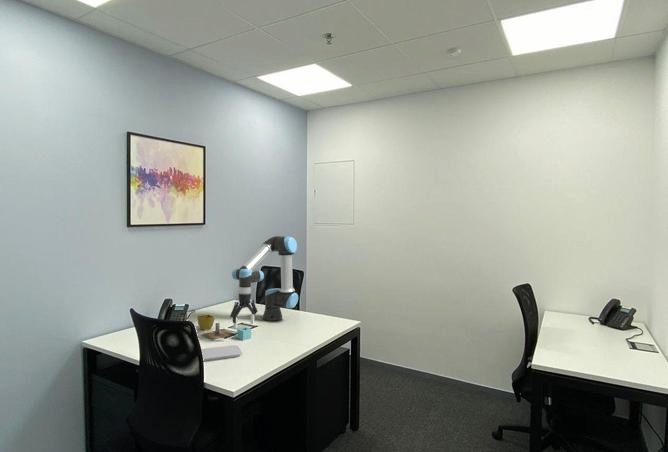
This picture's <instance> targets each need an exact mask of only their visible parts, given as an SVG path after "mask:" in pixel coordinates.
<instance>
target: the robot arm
mask: <svg viewBox="0 0 668 452" xmlns="http://www.w3.org/2000/svg"><path fill="white" fill-rule="evenodd" d="M297 250H298V243H297V241H296V239H295V238H294V237H293V236H292V237H290V236H285V235H284V236H283V235H282V236H280V235H279V236H278V235H275V236H272V237H270V238H268V239H267V240H265V241H264V242H263V243H262V244H261V245H260V247H259V249H257V251H256V252H255V253H253V254H252V255H251V256H250V258H248V259H247V261H246V262H245V263H244V264H242V265H241V267H239V268H235V269H233V270H232V272H231V277H232V279H233V280H235V281H238V301H235V302H234V305H233V307H232V310H231V313H230V315H229V317H230V318H232V323H233V329H238V315H239V314H240V312H241V311H242V310H243V309H245V308H247V309H248V310H249V311H250V324H251V325H254V324H255V319H256V315H257V313H258V308H257V306H256V304H255V299H253V298H252V297H251V296H252V295H251V294H252V283H259V282H262V281H263V280H264V278H265V274H264V272H263V271H262V270H258V269H257V270H255V269H256V268H257V267H258V266H259V264H260V263H261V262H263V260H264V259H265V258H266V257H267V256H268V255H271V254H272V253H274V252H277V253H278V254H277V255H278V256H279V257H280V283H281V284H280V285H281V286H280V287H281V288H277V287H276V288H269V289H266V290H265V292H264V293H265V295H264V310H263V314H262V320H264V321H267V322H277V321H278V322H279V321H281V320H283V313H282V310H281V308H286V309H293V308H295V307H296V305H297V304H298V302H299V295H298V293H297V292H296V290H295V288H294V284H293V280H294V279H293V278H294V277H293V256H294V255H295V253H296V252H297Z"/></svg>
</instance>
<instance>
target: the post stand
mask: <svg viewBox="0 0 668 452" xmlns="http://www.w3.org/2000/svg"><path fill="white" fill-rule="evenodd" d="M214 326H215V328H214V329H215V330H211V331H209V332H208V331H207V332H205V333H201V334H200V336H201V337H203V338H207V339H209V340H211V341H216V340H219V339H223V338H225V337H226V336H227V337H230V336H233V334H234V335H235V333H234V332H231V331H228V330H225V329H223V328H221V329H220V327H221V325H220V322H215V325H214ZM229 335H230V336H229Z"/></svg>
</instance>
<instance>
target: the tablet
mask: <svg viewBox="0 0 668 452" xmlns="http://www.w3.org/2000/svg"><path fill="white" fill-rule="evenodd" d="M201 349H202V353H203V359H204V362H203V363H205V362H213V361H220V360H226V359H234V358H240V357H241V355H242V354H243V353H242V350H241V348H240V346H239V345H236V344H231V345H230V344H229V345H224V346H223V345H222V346H216V347H215V346H213V347H207V348H201Z"/></svg>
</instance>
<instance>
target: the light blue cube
mask: <svg viewBox="0 0 668 452" xmlns="http://www.w3.org/2000/svg"><path fill="white" fill-rule="evenodd" d="M236 329H237V330H236V338H237V340H241V341H245V340H249V339H252V328H249V327H246V326H244V327H240V328H236Z"/></svg>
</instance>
